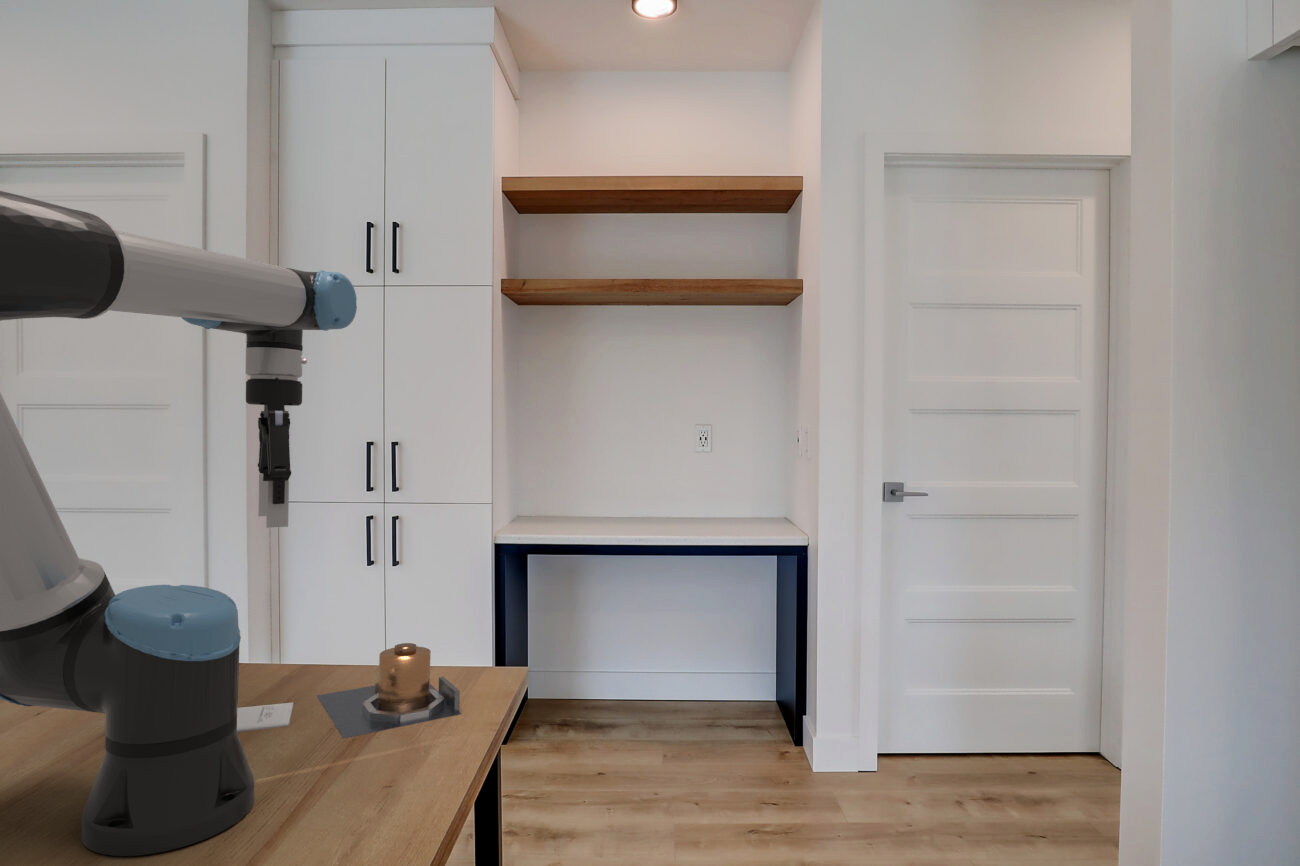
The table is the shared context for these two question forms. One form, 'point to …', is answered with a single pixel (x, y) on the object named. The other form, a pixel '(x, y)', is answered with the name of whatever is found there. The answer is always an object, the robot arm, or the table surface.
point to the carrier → (361, 714)
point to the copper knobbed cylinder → (404, 678)
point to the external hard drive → (264, 716)
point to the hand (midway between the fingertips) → (272, 521)
